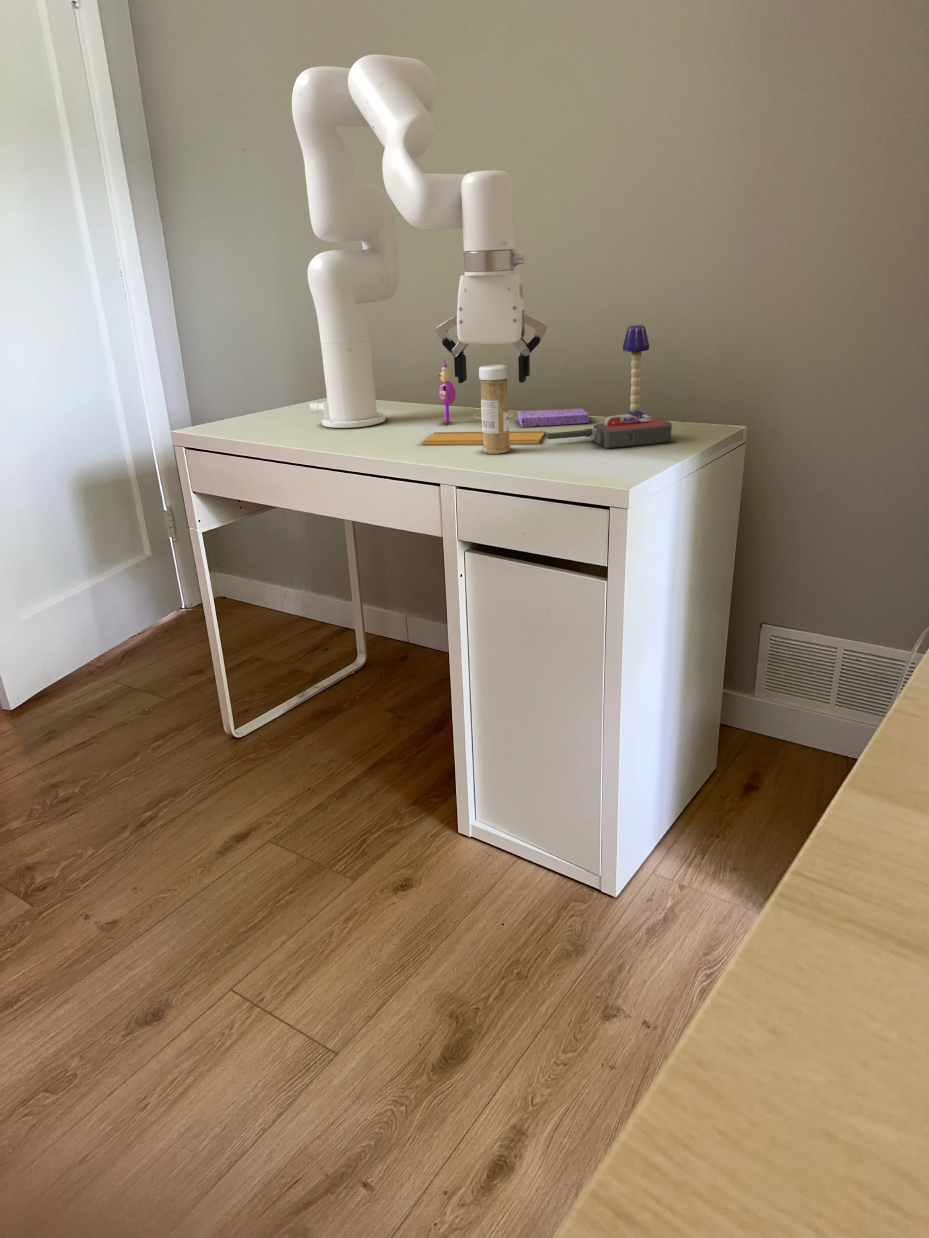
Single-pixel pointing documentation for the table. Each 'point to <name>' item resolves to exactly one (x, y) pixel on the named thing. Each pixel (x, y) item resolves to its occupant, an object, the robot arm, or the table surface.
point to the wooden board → (481, 438)
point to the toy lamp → (635, 365)
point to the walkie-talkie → (623, 432)
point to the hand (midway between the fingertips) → (492, 381)
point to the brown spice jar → (494, 408)
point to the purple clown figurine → (446, 391)
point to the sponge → (552, 417)
